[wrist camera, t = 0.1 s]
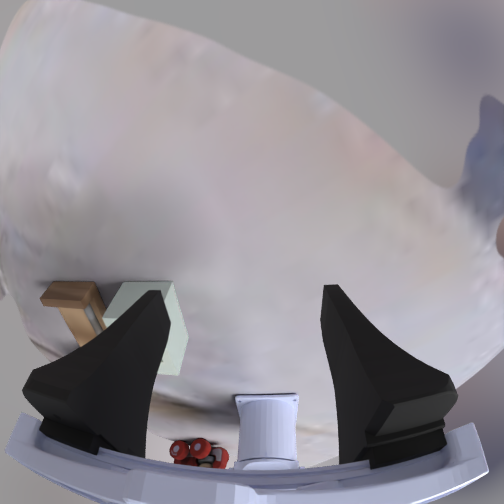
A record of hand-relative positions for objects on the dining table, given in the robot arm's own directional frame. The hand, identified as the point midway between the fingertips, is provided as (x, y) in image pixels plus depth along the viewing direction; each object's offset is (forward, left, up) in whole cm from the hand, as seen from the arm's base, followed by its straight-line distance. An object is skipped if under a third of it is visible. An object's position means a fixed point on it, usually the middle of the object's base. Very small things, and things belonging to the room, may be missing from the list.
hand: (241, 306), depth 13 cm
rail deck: (-13, +19, -10) cm, 25 cm away
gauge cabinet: (-9, +10, -10) cm, 17 cm away
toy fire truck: (-45, +13, -10) cm, 48 cm away
